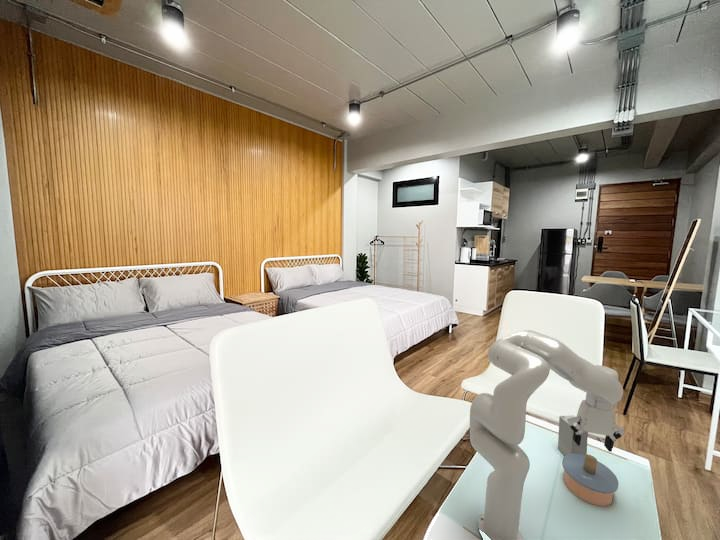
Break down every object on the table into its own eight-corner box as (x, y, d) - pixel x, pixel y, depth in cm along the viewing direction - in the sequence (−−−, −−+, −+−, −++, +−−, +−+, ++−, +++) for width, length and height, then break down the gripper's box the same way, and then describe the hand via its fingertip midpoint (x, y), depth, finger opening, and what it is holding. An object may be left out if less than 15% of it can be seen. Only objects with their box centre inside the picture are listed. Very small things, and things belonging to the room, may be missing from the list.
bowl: (621, 510, 98) (624, 494, 97) (574, 500, 101) (576, 485, 100) (598, 476, 111) (600, 462, 110) (557, 468, 115) (559, 455, 114)
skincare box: (586, 463, 117) (591, 428, 115) (569, 463, 117) (573, 428, 115) (571, 447, 126) (575, 414, 123) (554, 447, 125) (559, 414, 123)
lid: (629, 498, 96) (632, 481, 95) (574, 487, 99) (576, 471, 99) (601, 460, 111) (604, 446, 110) (555, 452, 115) (556, 438, 114)
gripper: (621, 400, 103) (613, 443, 105) (566, 391, 107) (560, 433, 109) (636, 412, 95) (627, 459, 98) (576, 403, 99) (569, 448, 102)
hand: (591, 445), depth 103 cm, fingers open, 9 cm apart
